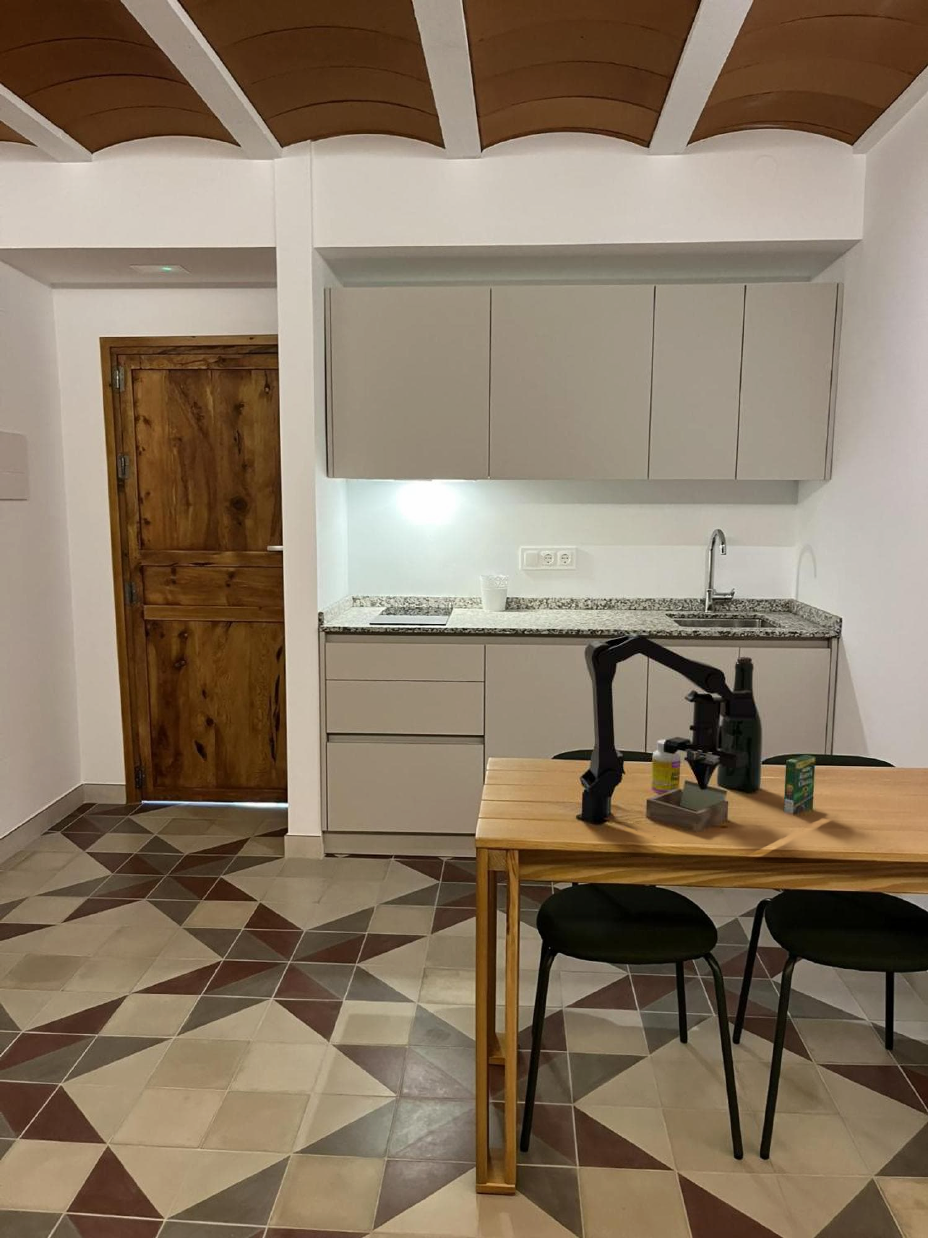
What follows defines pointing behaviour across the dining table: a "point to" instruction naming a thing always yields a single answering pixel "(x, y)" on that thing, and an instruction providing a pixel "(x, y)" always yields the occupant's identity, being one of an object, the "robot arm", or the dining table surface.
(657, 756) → the supplement bottle
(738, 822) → the dining table surface
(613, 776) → the robot arm
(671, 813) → the brown hollow box
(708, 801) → the green grey flat panel
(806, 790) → the coffee box
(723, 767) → the green wine bottle
